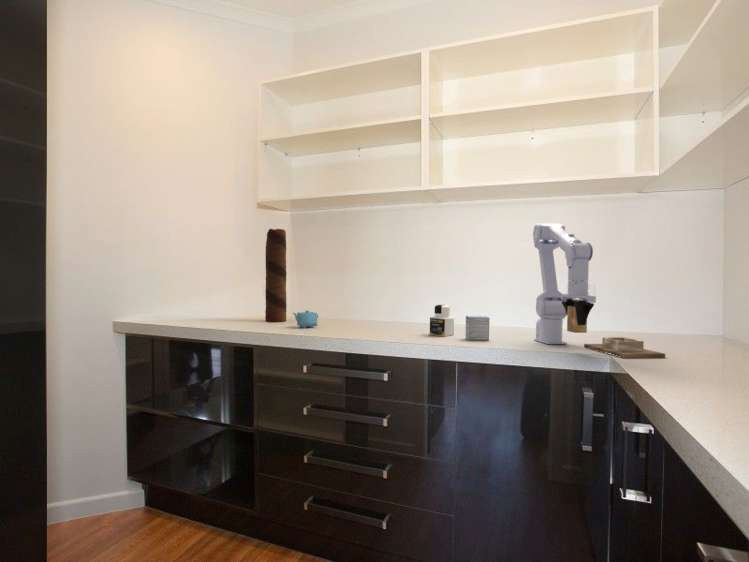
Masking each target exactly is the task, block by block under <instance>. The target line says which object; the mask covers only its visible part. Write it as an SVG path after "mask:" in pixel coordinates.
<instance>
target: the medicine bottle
mask: <svg viewBox="0 0 749 562" xmlns="http://www.w3.org/2000/svg"><path fill="white" fill-rule="evenodd" d="M450 314H451V306H449V305H448V304H437V305H434V316H430V317H429V335H431V336H435V337H436V336H437V337H444V338H445V337H449V336H454V335H455V317H453V316H450Z"/></svg>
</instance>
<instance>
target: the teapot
mask: <svg viewBox="0 0 749 562" xmlns="http://www.w3.org/2000/svg"><path fill="white" fill-rule="evenodd" d="M292 315H294V318H295V321H296V325H297V326H299V327H300V328H302V329H307V327H308V328H311V329H314V328H315V327H317V326H318V318H319V314H318V313H317V312H313V311H310V310H305V311H304V312H302V311H301V312H297V313H296V312H292Z"/></svg>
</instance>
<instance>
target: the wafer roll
mask: <svg viewBox="0 0 749 562" xmlns="http://www.w3.org/2000/svg"><path fill="white" fill-rule="evenodd" d="M264 318H265V321H266V322H268V323H269V322H270V323H283V322H284V323H285V322H287V233H286V230H285V229H282V228H276V229H275V228H274V229H273V228H269V229H268V231H267V233H266V242H265V317H264Z"/></svg>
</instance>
